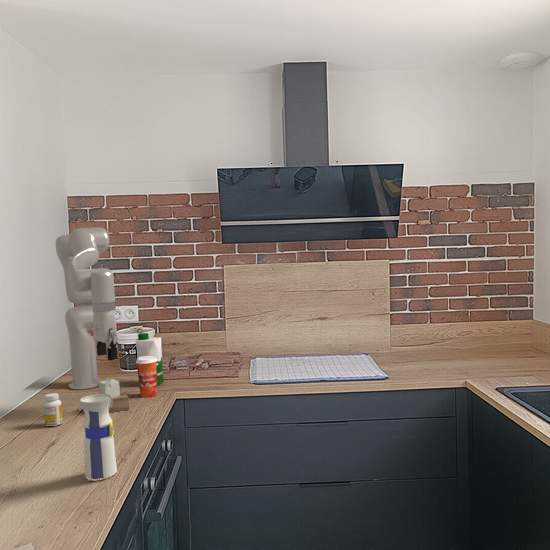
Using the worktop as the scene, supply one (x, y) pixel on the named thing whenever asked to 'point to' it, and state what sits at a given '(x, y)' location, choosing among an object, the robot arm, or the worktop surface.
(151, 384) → the paper cup
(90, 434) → the white blue vase
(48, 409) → the supplement bottle
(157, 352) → the milk carton
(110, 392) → the sage block
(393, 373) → the worktop surface
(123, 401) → the walnut block
